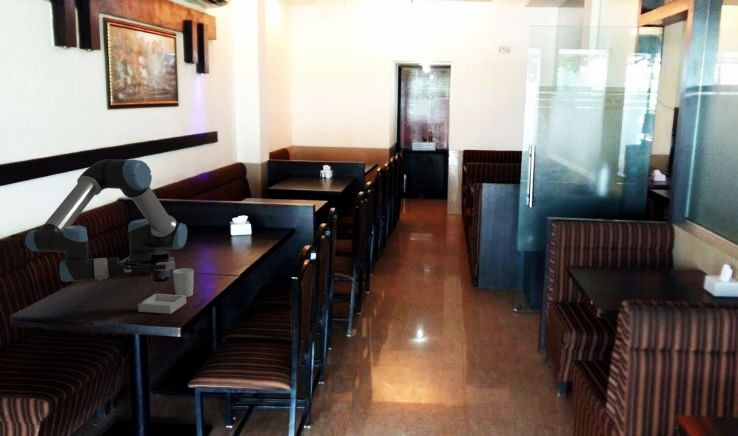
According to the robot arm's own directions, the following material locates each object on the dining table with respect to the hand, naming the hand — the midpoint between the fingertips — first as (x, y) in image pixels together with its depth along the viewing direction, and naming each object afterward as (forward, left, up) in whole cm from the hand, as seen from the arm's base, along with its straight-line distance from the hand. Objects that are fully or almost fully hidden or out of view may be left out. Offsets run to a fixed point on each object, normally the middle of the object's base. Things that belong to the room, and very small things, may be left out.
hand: (174, 263), depth 231 cm
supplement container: (-4, -3, -6) cm, 8 cm away
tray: (-4, -2, -17) cm, 17 cm away
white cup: (-3, +13, -17) cm, 22 cm away
